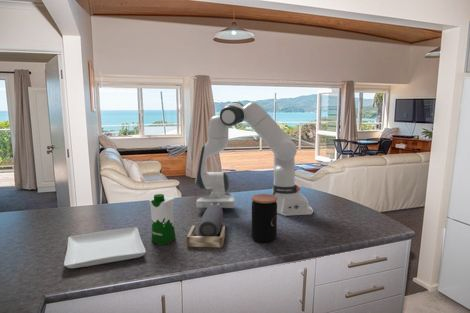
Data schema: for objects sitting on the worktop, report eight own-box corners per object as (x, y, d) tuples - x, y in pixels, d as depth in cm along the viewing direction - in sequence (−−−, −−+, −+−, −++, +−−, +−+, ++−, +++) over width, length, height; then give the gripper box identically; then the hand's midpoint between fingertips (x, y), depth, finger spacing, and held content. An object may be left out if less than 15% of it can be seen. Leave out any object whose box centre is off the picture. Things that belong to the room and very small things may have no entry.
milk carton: (148, 242, 134) (146, 195, 131) (162, 234, 142) (160, 190, 139) (165, 246, 131) (164, 198, 127) (178, 238, 139) (177, 192, 136)
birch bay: (225, 234, 142) (225, 226, 142) (222, 247, 130) (222, 237, 129) (192, 234, 143) (192, 225, 142) (186, 246, 130) (186, 237, 130)
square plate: (64, 275, 109) (63, 265, 108) (69, 244, 134) (68, 235, 133) (146, 260, 120) (146, 250, 119) (137, 233, 144) (136, 225, 144)
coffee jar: (275, 244, 132) (276, 201, 129) (249, 242, 134) (249, 200, 131) (277, 234, 142) (278, 194, 140) (253, 232, 145) (253, 193, 142)
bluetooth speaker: (220, 243, 133) (219, 220, 132) (197, 243, 134) (196, 219, 132) (224, 223, 156) (224, 203, 154) (205, 223, 156) (204, 203, 155)
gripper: (197, 193, 177) (193, 201, 164) (235, 194, 177) (234, 201, 163) (198, 204, 178) (193, 213, 165) (235, 205, 178) (234, 213, 164)
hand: (214, 207), depth 164 cm, fingers closed
